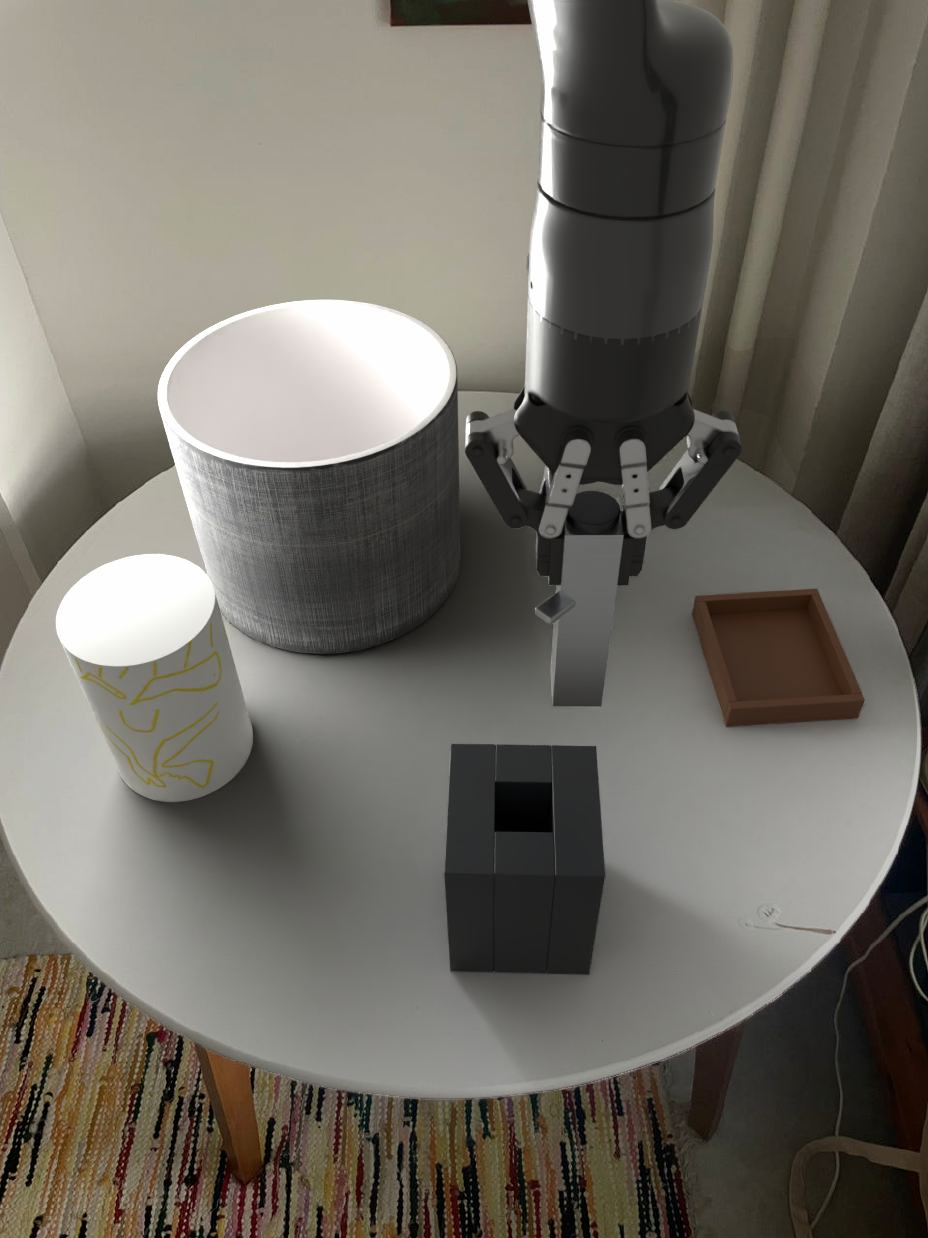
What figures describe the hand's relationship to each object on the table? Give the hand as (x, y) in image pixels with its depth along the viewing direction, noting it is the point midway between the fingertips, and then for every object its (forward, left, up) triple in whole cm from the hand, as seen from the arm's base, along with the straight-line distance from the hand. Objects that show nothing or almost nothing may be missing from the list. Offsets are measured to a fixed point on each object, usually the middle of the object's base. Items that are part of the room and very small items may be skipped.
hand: (587, 574), depth 56 cm
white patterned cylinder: (+28, +19, -32) cm, 46 cm away
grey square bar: (0, 0, -10) cm, 10 cm away
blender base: (-1, +5, -32) cm, 32 cm away
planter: (+40, -3, -32) cm, 51 cm away
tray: (+5, -29, -32) cm, 43 cm away
